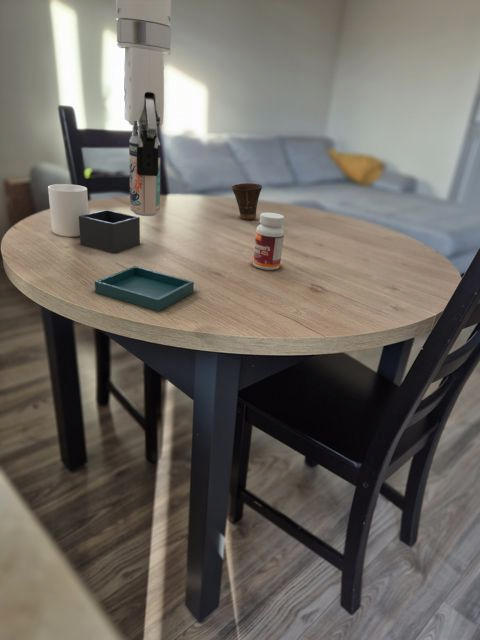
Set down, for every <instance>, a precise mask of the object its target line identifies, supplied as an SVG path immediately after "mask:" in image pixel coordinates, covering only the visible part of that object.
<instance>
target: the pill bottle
mask: <svg viewBox="0 0 480 640" xmlns="http://www.w3.org/2000/svg"><path fill="white" fill-rule="evenodd" d="M259 223H260V224H258V226H256V230H255V238H254V248H253V256H252V265H253V266H254V267H256V268H257V269H261V270H266V271H273V270H277V269H279V268H280V266H281V260H282V255H283V246H284V238H285V229H284V228H283V226H284V225H285V216H284V215H283V214H279V213H276V212H261V213H260V215H259Z"/></svg>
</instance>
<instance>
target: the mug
mask: <svg viewBox="0 0 480 640" xmlns="http://www.w3.org/2000/svg"><path fill="white" fill-rule="evenodd" d="M47 193H48V203H49V211H50V212H49V213H50V223H51V224H50V225H51V230H52V232H53V234H55V235H57V236H59V237H60V236H61V237H66V238H77V237H79V238H80V229H79V216H81V215H85V214H90V213H89V197H88V188H87V187H86V186H83V185H78V184H73V183H71V184H69V183H56V184H50V185H48V186H47Z"/></svg>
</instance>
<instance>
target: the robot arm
mask: <svg viewBox="0 0 480 640" xmlns="http://www.w3.org/2000/svg"><path fill="white" fill-rule="evenodd" d="M115 13H116V14H115V15H116V16H115V17H116V22H115V23H116V48H119V49H122V50H123V60H122V119H123V120H124V121H125V122H126V123H127V124H128V125H130V126H131V136H132V135H133V134H138V145H139V147H137V174H138V175H143V176H157V175H158V140H159V136H158V128H160V127H161V126H163V123H164V109H165V75H164V74H165V72H164V71H165V66H164V55H168V56H169V55H171V40H172V37H171V36H172V35H171V32H172V0H115Z"/></svg>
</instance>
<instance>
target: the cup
mask: <svg viewBox="0 0 480 640" xmlns="http://www.w3.org/2000/svg"><path fill="white" fill-rule="evenodd" d="M262 189H263V185H261V184H258V183H248V182H247V183H244V182H243V183H238V184H234V185H232V186H231V190H232V192H233V194H234V197H235V200H236V204H237V206H238V210H239V216H240V219H241V220H244V221H245V220H255V219H256V218H257V209H258V202H259V198H260V196H261V195H260V194H261V192H262Z"/></svg>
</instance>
